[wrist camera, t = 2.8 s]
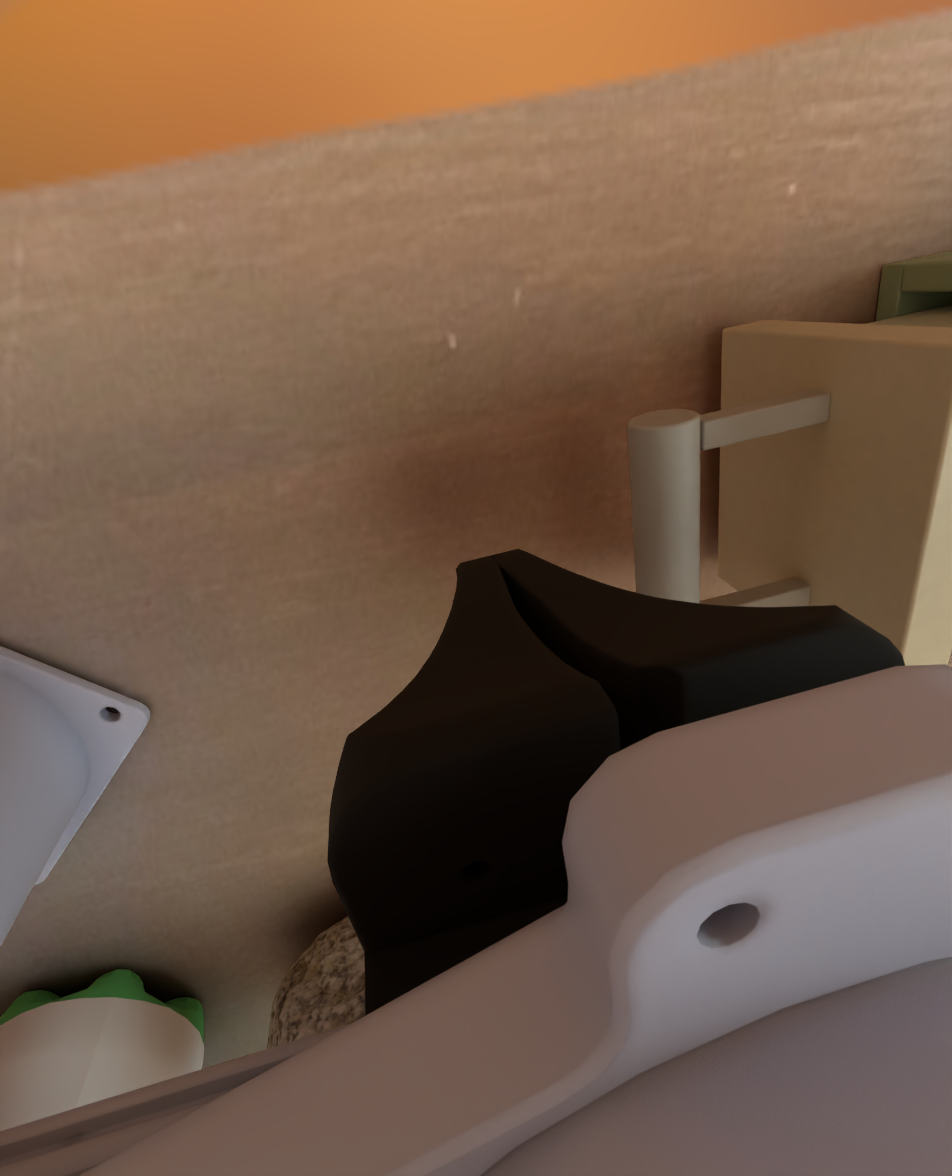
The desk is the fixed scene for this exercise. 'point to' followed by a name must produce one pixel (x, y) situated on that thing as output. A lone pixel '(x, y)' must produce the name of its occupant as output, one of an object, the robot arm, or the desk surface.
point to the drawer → (813, 477)
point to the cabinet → (915, 285)
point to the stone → (321, 987)
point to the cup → (92, 1046)
